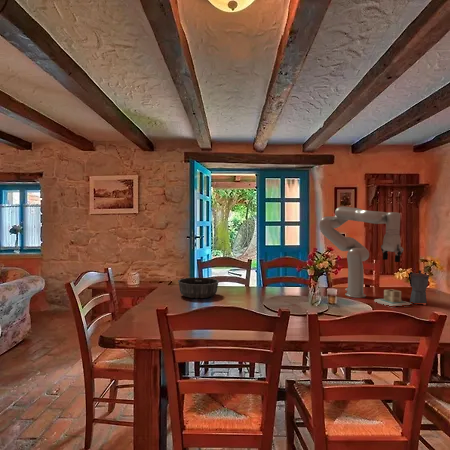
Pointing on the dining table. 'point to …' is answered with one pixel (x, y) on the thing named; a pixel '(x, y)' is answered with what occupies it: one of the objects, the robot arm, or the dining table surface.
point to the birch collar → (392, 295)
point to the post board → (391, 302)
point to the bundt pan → (198, 287)
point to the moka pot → (418, 287)
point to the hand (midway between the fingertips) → (391, 260)
